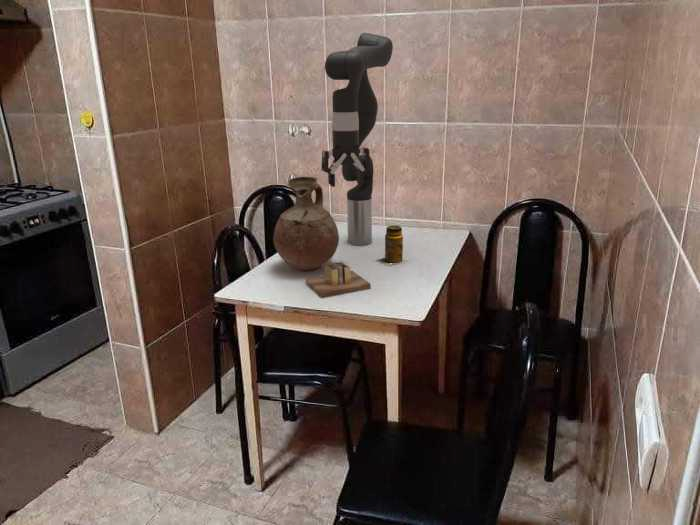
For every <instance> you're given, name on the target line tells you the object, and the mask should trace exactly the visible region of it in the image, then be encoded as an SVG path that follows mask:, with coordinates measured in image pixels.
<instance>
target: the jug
mask: <svg viewBox="0 0 700 525" xmlns="http://www.w3.org/2000/svg"><path fill="white" fill-rule="evenodd" d="M287 182H288V187H289V188H290V189H291V191H292V192H294V194H295V203H294V205H293V206H291V207H289V208H288V209H287V210H285V211H284V212H282V213H281V214H280V215H279V218H278V220H277V222H276V225H275V227H274V230H273V239H272V241H273V245H274V249H275V250H276V252H277V253H278V256H279V257H280V258H281V259H282V260H283V261H284V262H285V263H286V264H288V265H289V266H291V267H293V268H294V269H296V270H297V271H300V272H307V273H308V272H310V273H311V272H315V271H318V270H320V269H321V268H322V267H323V266H324V265H325V264H327V263H328V262H329V261H331V259H332V257H333V256H334V255H335V254H336V252H337V250H338V246H339V242H340V237H339V236H340V234H339V229H338V225H337V224H336V222H335V219H334V218H333V217H332V215H331V213H330V212H329V211H328V210H327V209H326V208H324V205H323V204H324V194H323V192H324V191H323V187H322V186H321V184H319V182H318V179H317V177H315V176H305V175H304V176H295V177H292V178H289V179H288V181H287ZM313 192H314V193H315V199H314V200H315V201H313V197H312V194H313Z"/></svg>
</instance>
